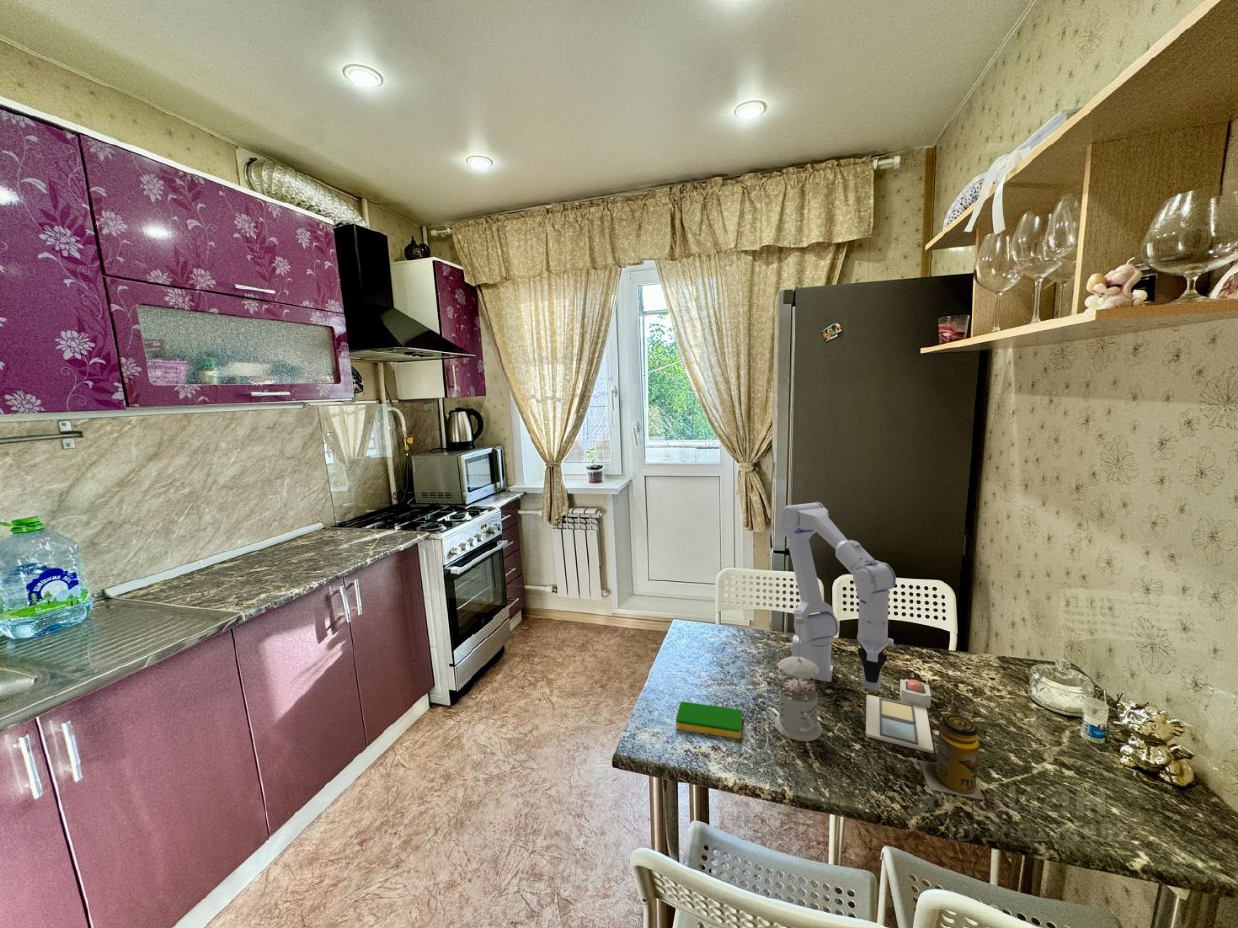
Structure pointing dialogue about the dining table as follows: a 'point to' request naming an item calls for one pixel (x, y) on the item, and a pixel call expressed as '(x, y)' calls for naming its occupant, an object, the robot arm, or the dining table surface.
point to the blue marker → (869, 684)
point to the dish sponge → (709, 719)
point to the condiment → (955, 759)
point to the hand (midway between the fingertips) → (871, 676)
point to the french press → (798, 698)
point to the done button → (915, 686)
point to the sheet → (898, 723)
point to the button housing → (915, 695)
